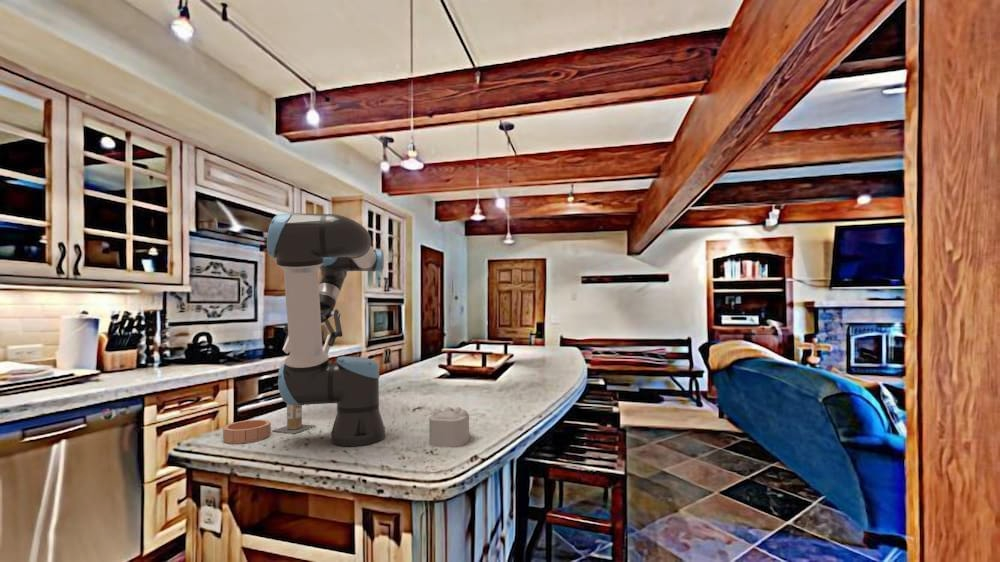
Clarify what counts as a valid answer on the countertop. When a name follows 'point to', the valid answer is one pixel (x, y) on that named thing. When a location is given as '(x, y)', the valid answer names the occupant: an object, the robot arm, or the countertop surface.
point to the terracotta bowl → (246, 431)
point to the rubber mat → (284, 429)
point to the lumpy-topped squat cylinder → (449, 427)
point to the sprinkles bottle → (294, 417)
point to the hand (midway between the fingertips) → (304, 353)
